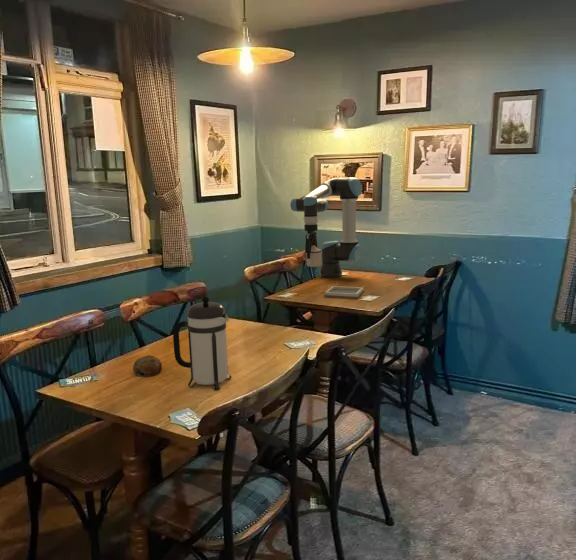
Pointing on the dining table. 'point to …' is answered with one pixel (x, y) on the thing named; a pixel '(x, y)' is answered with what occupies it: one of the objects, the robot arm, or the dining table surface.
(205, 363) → the coffee press
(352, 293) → the grey shallow tray
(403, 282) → the dining table surface
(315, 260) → the teacup with lid
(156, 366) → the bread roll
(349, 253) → the robot arm
